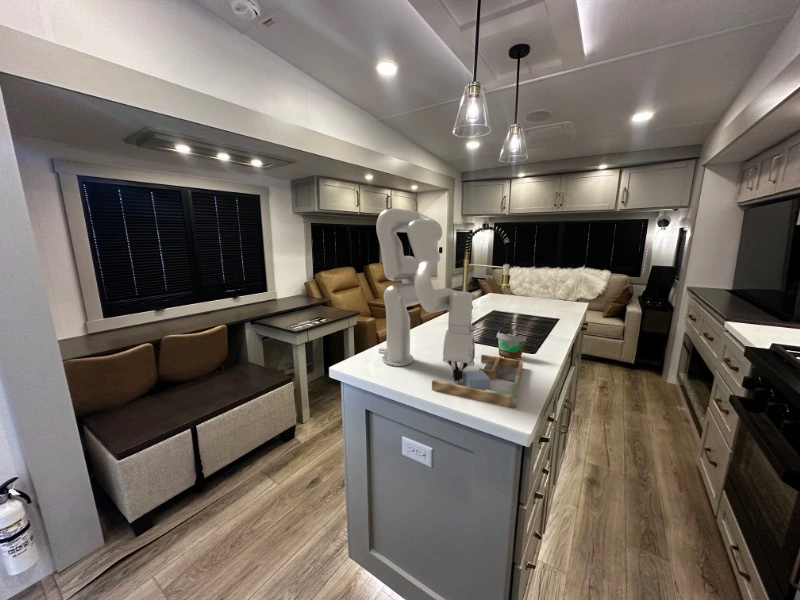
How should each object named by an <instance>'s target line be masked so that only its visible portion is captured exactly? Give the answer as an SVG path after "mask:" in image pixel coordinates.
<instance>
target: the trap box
mask: <svg viewBox="0 0 800 600" xmlns="http://www.w3.org/2000/svg"><path fill="white" fill-rule="evenodd" d="M480 362H481V363H484V364H485V365H484V367H483V368H481V367H480V368H479V369H478V371H483V372H484V373H485V374H486V375H487V376H488V377H489V378H490V381H491V380H492V381H494V380H495V379H497V380H502V381H508V382H514V383H513V385H511V386H510V388H509V389H510V390H509V393H506V392H500V391H496V390H491V389H490V390H487V389H486V390H481V389H476V388H471V387H466V386H465V385H462V384H461V385H460V384H454V383H450V382H446V381H440V380H435V379H432V380H431V391H436V392H439V391H440V393H444V392H445V394H448V393H449V394H450V395H453V396H459V397H463V398H467V399H472V400H477V401H482V402H487V403H491V404H495V405H500V406H505V407H509V408H510V409H516V408H517V403H518V401H517V399H518V393H519V387H520V383H521V377H522V372H523V366H524V360H520V359H509V358H503V357H501V356H494V355H488V354H481V356H480Z"/></svg>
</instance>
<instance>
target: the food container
mask: <svg viewBox="0 0 800 600" xmlns="http://www.w3.org/2000/svg"><path fill="white" fill-rule="evenodd" d="M496 338H497V339H498V355H499V357H502V358H503V357H504V358H509V359H515V360H520V359H522V355H523V352H524V345H525V342H526V341H527V337H526V335H524V336H518V335H516V334H512V333H503V332H501V331H500V330H498V332H497V333H496ZM519 358H520V359H519Z"/></svg>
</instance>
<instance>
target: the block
mask: <svg viewBox="0 0 800 600" xmlns="http://www.w3.org/2000/svg"><path fill="white" fill-rule="evenodd" d="M462 383H463V384H464V386H466V387H471V388H476V389H481V390H486V389H487V390H491V389H490V388H491V379H490V378H489V377H488V376H487V375H486V374H485V373H484V372H483V371H479V370H465V371H464V370H463V377H462Z"/></svg>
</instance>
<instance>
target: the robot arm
mask: <svg viewBox="0 0 800 600" xmlns="http://www.w3.org/2000/svg"><path fill="white" fill-rule="evenodd" d="M375 228H376V235H377V238H378V242H379V245H380V250H381V251H380V252H381V259H382V266H383V272H384V276H385V277H386V279H387V280H389V281H393V282H394V281H395V282H396V281H403V282H402V283H395V284H391V285H389V286H387V288H386V289H385V290H384V292H383V301H384V307H385V318H386V320H385V321H386V323H385V324H386V347H381V346H380V347H379V348H378V354H380V355H383V356H382V361H383V363H384V364H385V365H388V364H389V366H392V365H393V366H392V367H404V366H408V365H411V364H412V363H414V359H415V358H414V356H413V355H411V316H410V314H409V311H408V310H407V309H408V308H409V307H410V306H415V305H418V304H420V306H421V307H422V309H423V310H424V311H425V312H427V313H428V314H429V313H430V314H433V313H438V312H442V311H447V310H448V319H447V320H448V323H447V330H446V331H445V335H444V341H443V348H442V350H443V351H442V356H443V357H442V361H443V363H447V364H448V365H449V366H450V367H451V370H452V378H454V379H453V380H454V382H460V381H461V380H463V371H464V370H465V368H469V367H474V366H475V361H474V360H475V356H476V353H475V352H476V349H475V348H476V344H475V343H476V342H475V334H474V332H475V331H476V329H477V328H476V326H473V324H472V317H473V315H472V313H473V312H472V311H473V294H472V293H471V292H469V291H465V290H456V289H453V288H449V287H444V288H443V287H442V288H438V289H437V288H436V289H434V285H433V282H432V270H433V268H434V267H435V266H436V265H437V264H438V263H439V262H440V261H441V255H440V252H439V249H438V247H437V243H438V242H439V241H441V239H442V236H443V228H442V226H441V224H440V222H438V221H437V220H435V219H434V218H431V217H429V216H427V215H426V214H423V213H421V212H419V211H417V210H412V209H410V210H409V209H402V208H387V209H384V210H383V211H381V212H380V214H379V215H378V218H377V219H376V227H375ZM397 233H406V234H407V237H408V241H409V244H410V247H411V249H412V253H413V255H414V256H411V255H404V247H403V243H402V241H401V239H400V237H399V236H398V235H397ZM407 307H408V308H407ZM458 363H459V366H458Z"/></svg>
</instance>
